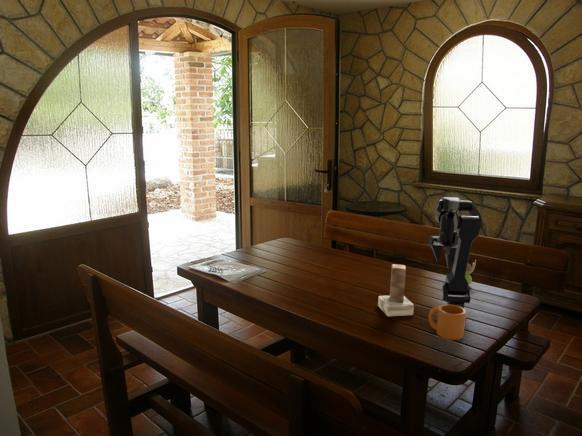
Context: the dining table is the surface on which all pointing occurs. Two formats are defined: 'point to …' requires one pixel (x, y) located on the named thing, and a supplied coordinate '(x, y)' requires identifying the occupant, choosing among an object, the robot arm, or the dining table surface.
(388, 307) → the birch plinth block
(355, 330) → the dining table surface
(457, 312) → the mug
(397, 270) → the tan wooden block
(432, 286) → the dining table surface
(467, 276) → the snail figurine
